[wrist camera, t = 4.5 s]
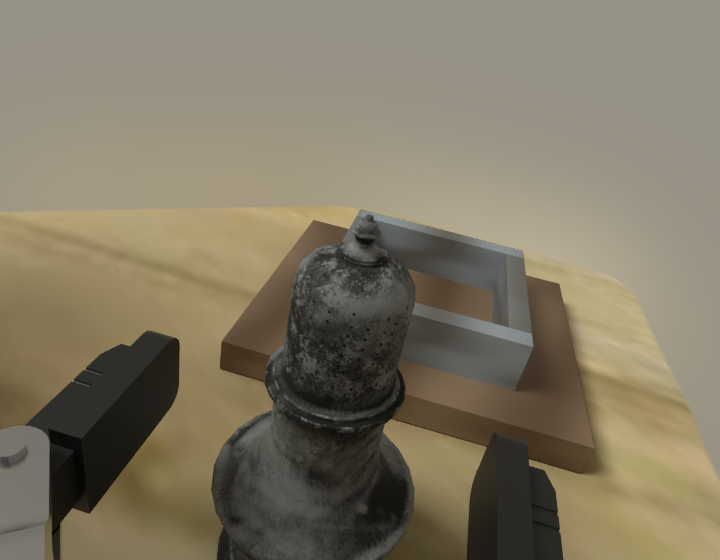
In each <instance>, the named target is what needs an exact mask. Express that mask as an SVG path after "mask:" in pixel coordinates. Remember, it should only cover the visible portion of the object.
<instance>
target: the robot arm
mask: <svg viewBox="0 0 720 560" xmlns="http://www.w3.org/2000/svg"><path fill="white" fill-rule="evenodd" d="M179 349H180V346H179V340H178V339H177V338H174V337H170V336H167V335H163V334H160V333H156V332H153V331H146V332H145V333H143V334H142V335H141V336H140V337H139V338H138V339H137V340H136V341H135V342H134V343H133V344H132V345H131V346H126V345H123V344H121V345H118V346H116V347H114V348H112V349H110V350H108V351H106V352H104V353H102V354H100V355H99V356H98V357H97V358H96V359H95V360H94V361H93V362H92V363H91V364H90V365H89V366H88V367H87V368H86V370H85V371H84V370H83V371H82V372H81V373H80V374H79V375H78V376H77V377H76V378H75V379H74V382H71V383H70V384H68V385H67V386H66V387H65V388H64V389H63V390H62V391H61V392H60V393H59V394H58V395H57V396H56V397H55V398H54V399H53V400H51V401H50V402H49V403H48V404H47V405H46V406H45V407H44V408H43V409H42V410H41V411H40V412H39V413H38V414H37V415H36V416H35V417H33V418H32V419H31V420H30V421H29V422H28V423H27V424H26V425H25V426H12V427H7V428H3V429H0V560H63V558H62V522H61V521H62V520H63V519H64V518H65V516H66V515H67V514H68V513H69V512H70V510H71V509H72V508H74V509H77V510H80V511H83V512H86V513H89V514H90V512H91V511H92V510H93V508H94V507H95V506H96V504H97V503H98V502H99V501H100V499H101V498H102V497H103V495H104V494H105V493H106V491H107V490H108V489H109V487H110V486H111V485H112V484H113V482H114V481H115V480H116V478H117V477H118V476H119V474H120V473H121V472H122V470H123V469H124V468H125V467H126V465H127V464H128V463H129V461H130V460H131V459H132V457H133V456H134V455H135V454H136V452H137V451H138V450H139V448H140V447H141V446H142V444H143V443H144V442H145V440H146V439H147V438H148V437H149V435H150V434H151V433H152V431H153V430H154V429H155V427H156V426H157V425H158V423H159V422H160V421H161V420H162V418H163V417H164V416H165V414H166V413H167V412H168V410H169V409H170V408H171V406H172V404H173V402H174V400H175V398H176V395H177V392H178V387H179ZM557 512H558V509H557V501H556V492H555V489H554V488H553V486H552V484H551V482H550V480H549V478H548V476H547V474H546V473H545V471H544V470H541V469H538V468H535V467H531V466H529V460H528V446H527V443H526V441H523V440H519V439H516V438H512V437H509V436H506V435H502V434H499V433H494V434H493V435H492V437H491V439H490V442H489V444H488V446H487V449H486V451H485V454H484V456H483V458H482V461H481V463H480V465H479V468H478V470H477V472H476V475H475V478H474V481H473V485H472V489H471V495H470V505H469V524H468V543H467V560H563V553H562V544H561V535H560V533H559V529H560V527H559V518H558V516H557Z"/></svg>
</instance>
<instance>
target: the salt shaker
mask: <svg viewBox="0 0 720 560" xmlns="http://www.w3.org/2000/svg"><path fill="white" fill-rule="evenodd" d="M351 232H352V233H353V234H354V235H355V240H351V241H348V242H339V243H333V244H329V245H325V246H322V247H320V248H317V249H315V250H314V251H313V252H312V253H310V254H309V255H308V256H307V257H306V258H305V259H303V260H302V261H301V263H300V264H299V266H298V268H297V271H296V273H295V276H294V278H293V284H292V291H291V298H290V306H289V313H288V320H287V328H286V335H285V342H284V346H282V347H280V348H279V349H278V350H277V351H276V352H275V353H274V354H273V355H272V356H271V357H270V360H269V362H268V364H267V366H266V369H265V385H266V388H267V390H268V393H269V396H270V397H271V399H272V400H273V409H272V411H269V412H266V413H264V414H261V415H258V416H256V417H254V418H253V419H251V420H250V421H248V422H247V423H246V424H244V425H243V426H241V427H240V428H238V429H237V430H236V431H235V432H234V434H233V435H232V436H231V437H230V438H229V439H228V440H227V442H226V443H225V444H224V445H223V447H222V449H221V451H220V454H219V456H218V458H217V460H216V462H215V464H214V471H213V480H212V488H211V490H212V495H213V500H214V505H215V510H216V514H217V516H218V518H219V519H220V521H221V523H222V525H223V530H222V532H221V535H220V537H219V544H218V554H217V560H382V558H383V557H385V556H386V555H388V554H389V553H390V552H391V550H392V549H393V548H394V547H395V545H396V544H397V543H398V542H399V541H400V539H401V538H402V537H403V536H404V534H405V531H406V529H407V526H408V524H409V521H410V519H411V516H412V513H413V505H414V486H413V482H412V478H411V474H410V470H409V467H408V465H407V464H406V462H405V460H404V458H403V456H402V455H401V453H400V451H399V449H398V448H397V447H396V446H395V445H394V444H393V443H392V442H391V441H390V440H389V438H388V437H387V436H386V435H385V434H384V433H383V428H384V425H385V423H387V422H388V421H389V420H390V419H391V418H392V417H394V416H395V415H396V414H397V413H398V411H399V409H400V408H401V406H402V404H403V402H404V398H405V389H406V387H405V383H404V379H403V376H402V374H401V372H400V371H399V369H398V368H397V367H398V363H399V360H400V356H401V352H402V349H403V345H404V341H405V338H406V334H407V331H408V327H409V323H410V320H411V316H412V313H413V309H414V305H415V284H414V281H413V279H412V277H411V275H410V273H409V271H408V269H407V268H406V266H405V265H404V264H403V263H402V262H401V261H400V260H398V259H397V258H396V257H394V256H393V255H392V254H390V253H389V252H387V251H385V250H383V249H381V248H379V247H378V246H377V245H375V244H374V241H375V240H377V239H379V238H381V236H382V232H381V231H380V230H379V229H378V224H377V223H376V222H375V220H374V217H373V216H372V215H370V214H368V215H366V216H365V218H363V219H361V220H359V222H358V224H357V225H354V226H352V228H351Z"/></svg>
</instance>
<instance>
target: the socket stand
mask: <svg viewBox="0 0 720 560" xmlns="http://www.w3.org/2000/svg"><path fill="white" fill-rule="evenodd" d="M368 214H370V215H372V216H373V217H374V220H375V222H376V223H377V224H378V229H379V230H380V231H381V232H382V236H381V238H379V239H377V240H375V241H374V244H375V245H377V246H378V247H379V248H381V249H383V250H385V251H387V252H389V253H390V254H392V255H393V256H394V257H396V258H397V259H398V260H400V261H401V262H402V263H403V264H404V265H405V266H406V268H407V269H408V271H409V273H410V275H411V277H412V279H413V281H414V284H415V305H414V309H413V313H412V316H411V320H410V323H409V327H408V331H407V334H406V338H405V341H404V345H403V349H402V352H401V356H400V360H399V363H398V367H397V368H398V369H399V371H400V372H401V374H402V376H403V379H404V383H405V387H406V389H405V398H404V402H403V404H402V406H401V408H400V409H399V411H398V413H397V414H396V415H395V416H394V417H392V419H396V420H399V421H402V422H406V423H409V424H413V425H416V426H420V427H423V428H426V429H430V430H433V431H437V432H440V433H444V434H447V435H450V436H454V437H457V438H461V439H464V440H468V441H471V442H474V443H478V444H481V445H485V446H488V444H489V442H490V439H491V437H492V435H493V434H494V433H499V434H502V435H506V436H509V437H512V438H516V439H519V440H523V441H526V443H527V446H528V458H529V459H533V460H536V461H540V462H543V463H546V464H550V465H553V466H557V467H560V468H564V469H567V470H570V471H574V472H577V473H581V472H582V470H583V468H584V466H585V465H586V463H587V461H588V459H589V458H590V456H591V454H592V452H593V451H594V449H595V448H594V443H593V438H592V434H591V429H590V424H589V420H588V415H587V410H586V406H585V401H584V397H583V392H582V387H581V383H580V378H579V373H578V369H577V364H576V359H575V355H574V350H573V346H572V341H571V336H570V332H569V327H568V322H567V318H566V313H565V308H564V304H563V299H562V295H561V290H560V285H559V284H557V283H553V282H549V281H546V280H542V279H538V278H534V277H530V276H526V274H525V264H524V255H523V251H522V250H518V249H514V248H510V247H506V246H502V245H499V244H495V243H491V242H487V241H483V240H479V239H475V238H471V237H467V236H463V235H460V234H456V233H452V232H448V231H444V230H440V229H436V228H432V227H428V226H424V225H421V224H417V223H413V222H409V221H405V220H401V219H397V218H393V217H389V216H385V215H381V214H378V213H374V212H370V211H366V210H362V209H361V210H360V212H359V213H358V215H357V217H356V218H355V220H354V222H353V224H352V225H351V227H350V229H346V228H342V227H338V226H334V225H330V224H327V223H323V222H319V221H315V220H313V222H312V223H311V224H310V226H309V227H308V228H307V230H306V231H305V232H304V233H303V235H302V236H301V237H300V239H299V240H298V241H297V243H296V244H295V245H294V247H293V248H292V249H291V251H290V252H289V253H288V255H287V256H286V257H285V259H284V260H283V261H282V263H281V264H280V265H279V267H278V268H277V269H276V270H275V272H274V273H273V274H272V276H271V277H270V278H269V280H268V281H267V282H266V284H265V285H264V286H263V288H262V289H261V290H260V292H259V293H258V294H257V296H256V297H255V298H254V300H253V301H252V302H251V304H250V305H249V306H248V307H247V309H246V310H245V311H244V313H243V314H242V315H241V317H240V318H239V319H238V321H237V322H236V323H235V325H234V326H233V327H232V329H231V330H230V331H229V333H228V334H227V335H226V337H225V338H224V339H223V340H222V345H221V360H220V368H221V369H224V370H228V371H231V372H234V373H238V374H241V375H245V376H248V377H252V378H255V379H258V380H262V381H265V369H266V366H267V364H268V362H269V360H270V357H271V356H272V355H273V354H274V353H275V352H276V351H277V350H278V349H279V348H280V347H282V346H284V342H285V335H286V328H287V320H288V313H289V306H290V298H291V291H292V284H293V278H294V276H295V273H296V271H297V268H298V266H299V264H300V263H301V261H302V260H303V259H305V258H306V257H307V256H308V255H309V254H310V253H312V252H313V251H314V250H315V249H317V248H320V247H322V246H325V245H329V244H333V243H339V242H348V241H351V240H355V235H354V234H353V233H352V232H351V228H352V226H354V225H357V224H358V222H359V220H361V219H363V218H365V216H366V215H368Z"/></svg>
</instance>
